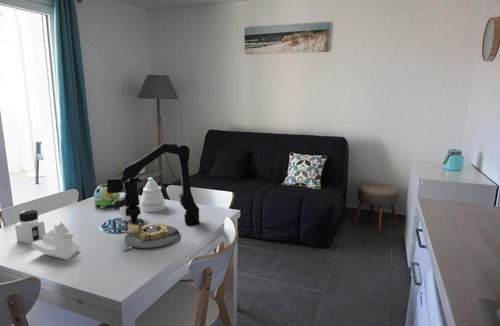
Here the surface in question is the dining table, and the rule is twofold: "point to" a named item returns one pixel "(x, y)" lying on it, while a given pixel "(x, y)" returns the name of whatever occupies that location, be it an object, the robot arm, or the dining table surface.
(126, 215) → the robot arm
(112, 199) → the turtle holder
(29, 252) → the dining table surface
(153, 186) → the honey pot
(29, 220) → the container
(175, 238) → the grey round shallow disc
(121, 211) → the white cup
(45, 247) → the white stepped peaked piece
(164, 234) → the gold block ring
